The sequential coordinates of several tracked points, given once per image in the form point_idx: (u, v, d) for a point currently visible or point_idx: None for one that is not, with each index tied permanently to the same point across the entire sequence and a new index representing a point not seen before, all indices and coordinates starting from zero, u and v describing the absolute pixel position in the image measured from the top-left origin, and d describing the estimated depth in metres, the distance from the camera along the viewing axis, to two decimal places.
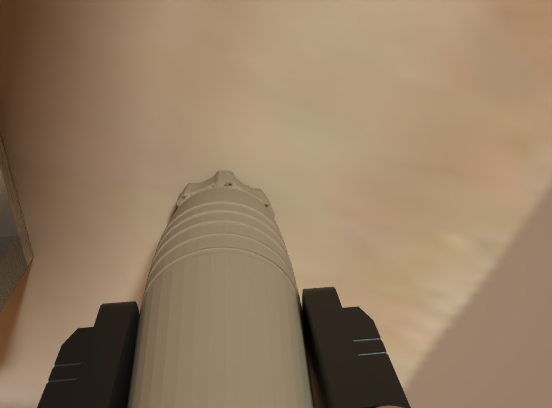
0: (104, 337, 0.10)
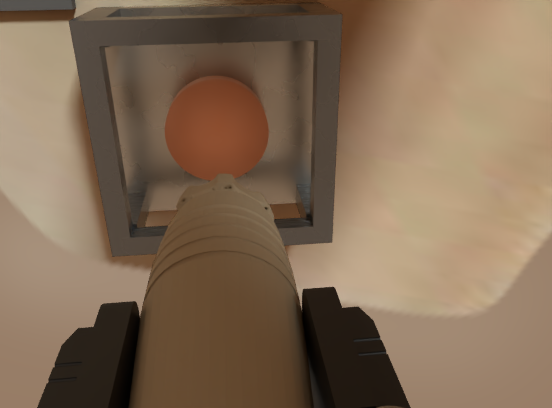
0: (104, 337, 0.10)
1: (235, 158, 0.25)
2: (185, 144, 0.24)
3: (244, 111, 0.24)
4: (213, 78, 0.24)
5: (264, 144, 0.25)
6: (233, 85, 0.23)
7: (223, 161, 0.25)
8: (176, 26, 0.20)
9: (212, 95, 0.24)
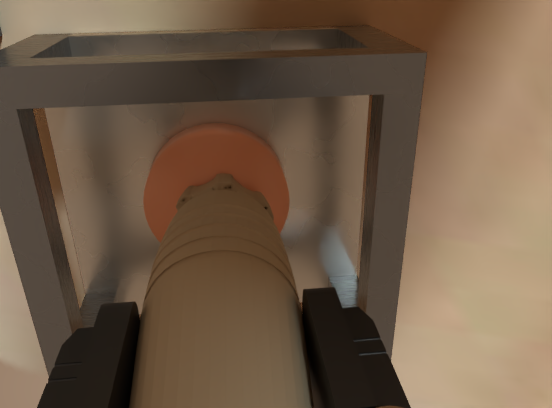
0: (104, 337, 0.10)
1: None
2: None
3: (255, 174, 0.17)
4: (212, 128, 0.17)
5: (283, 217, 0.18)
6: (240, 139, 0.16)
7: None
8: (148, 75, 0.12)
9: (210, 153, 0.17)
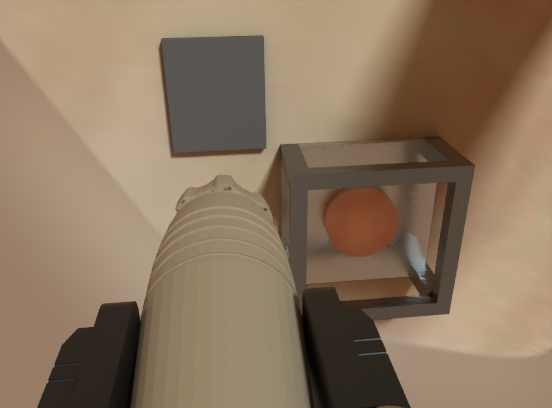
0: (104, 337, 0.10)
1: (374, 241, 0.35)
2: (341, 233, 0.35)
3: (384, 211, 0.34)
4: (362, 188, 0.34)
5: (394, 232, 0.35)
6: (378, 194, 0.34)
7: (365, 243, 0.35)
8: (361, 176, 0.29)
9: (363, 201, 0.34)
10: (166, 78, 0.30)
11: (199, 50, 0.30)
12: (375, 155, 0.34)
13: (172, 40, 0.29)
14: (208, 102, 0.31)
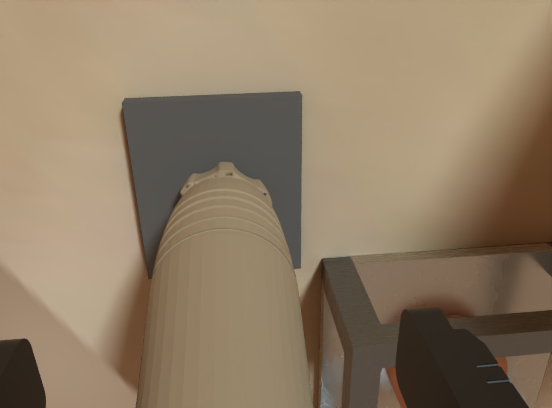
0: None
1: None
2: None
3: None
4: None
5: None
6: None
7: None
8: None
9: None
10: (133, 165, 0.18)
11: (190, 119, 0.17)
12: (474, 274, 0.21)
13: (142, 103, 0.17)
14: None
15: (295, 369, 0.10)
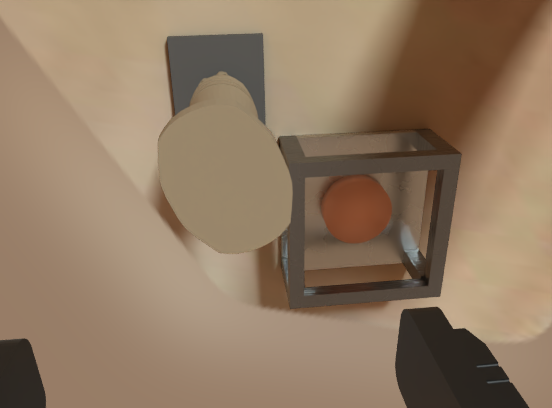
0: None
1: (368, 228, 0.37)
2: (337, 220, 0.37)
3: (377, 199, 0.36)
4: (357, 177, 0.36)
5: (388, 219, 0.37)
6: (372, 183, 0.36)
7: (360, 230, 0.37)
8: (355, 164, 0.31)
9: (358, 190, 0.36)
10: (172, 74, 0.32)
11: (202, 47, 0.32)
12: (369, 146, 0.36)
13: (177, 38, 0.32)
14: None
15: None
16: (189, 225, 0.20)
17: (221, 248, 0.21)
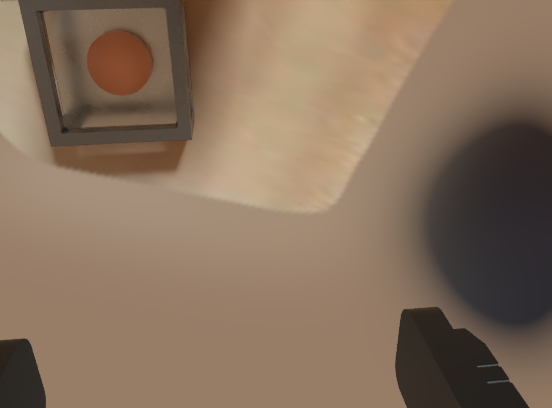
0: None
1: (131, 80, 0.41)
2: (99, 71, 0.41)
3: (134, 50, 0.40)
4: (115, 31, 0.40)
5: (148, 71, 0.41)
6: (126, 34, 0.40)
7: (124, 82, 0.41)
8: None
9: (113, 40, 0.40)
10: None
11: None
12: None
13: None
14: None
15: None
16: None
17: None
